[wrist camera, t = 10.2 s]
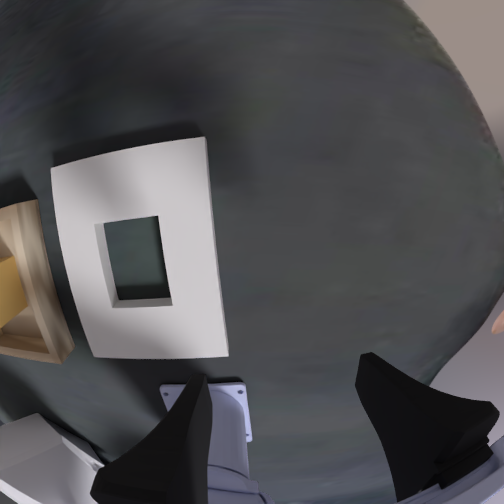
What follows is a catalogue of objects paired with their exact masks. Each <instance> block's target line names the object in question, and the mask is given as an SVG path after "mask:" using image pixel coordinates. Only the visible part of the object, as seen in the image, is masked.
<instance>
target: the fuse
mask: <svg viewBox="0 0 504 504" xmlns="http://www.w3.org/2000/svg"><path fill="white" fill-rule="evenodd" d="M27 306H28V304H27V301H26V298H25V295H24V292H23V288H22V285H21V281H20V278H19V274H18V270H17V266H16V262H15V257H14V256H9V257H3V258H0V329H1V328H2V327H3V326H4V325H5V324H6V323H8V322H9V321H10V320H11V319H12V318H14V317H15V316H16V315H17V314H19V313H20V312H21V311H22V310H24V309H25V308H26V307H27Z"/></svg>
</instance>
